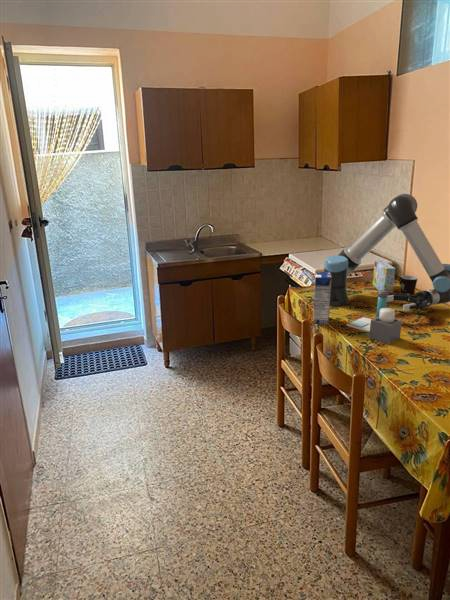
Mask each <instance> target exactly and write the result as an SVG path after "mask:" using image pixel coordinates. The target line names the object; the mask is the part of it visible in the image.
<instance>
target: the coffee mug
mask: <svg viewBox="0 0 450 600" xmlns="http://www.w3.org/2000/svg"><path fill="white" fill-rule="evenodd" d="M418 279H419V277H417V276H415V275H407V274H406V275H401V276H399V279H398V281H399V284H400V294H407V293H410V295H415V290H416V287H417V283H418Z"/></svg>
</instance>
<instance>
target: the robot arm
mask: <svg viewBox="0 0 450 600" xmlns="http://www.w3.org/2000/svg"><path fill="white" fill-rule="evenodd" d="M417 209H418V202H417V200H416V198H415V197H414V196H413V195H411V194H408V193H401V194H398V195H397V196H396V197H394V198H392V199H391V201H389V203H388V204H387V206H386V207H385V208H384V209H383V210H382V214H381V216H380V217H379V218H378V219H377V220H376V221H374V223H373V224H372V225H371V226H370V227H369V228H368V229H366V231H365V232H363V234H362V235H360V237H359V238H358V239H357V240H355V242H354V243H353V244H351V245H350V247H345V248H344V249H343V250H342V251H340V252H339V253H338V254H337V255H336V254H335V255H330V256H328V257H326V258H325V259H324V264H323V268H324V269H323V272H331V278H332V279H331V293H330V306H332V307H342V306H346V305H348V304H349V302H350V301H349V294H348V291H347V283H348V281H347V280H348V276H349V275H350V274H352V273H353V272H354V271H355V270H356V269H357V268H358V267H359V266H360V265H361V264H362V259H363V258H364V257H365V256H366V255H368V253H369V252H371V251H372V250H373V249H374V248H375V247H376V246H377V245H378V244H379V243H380V242H381V241H382V240H383V239H384V238H385V237H386V236H387V235H388V234H389V233H390V232H392V230H394V228H397V230H398V231H401V232H402V234H403V235H404V237H405V238H406V241H407V242H408V244H409V245H410V247H411V249H412V250H413V252H414V254H415V255H416V257H417V258H418V261H419V262H420V264H421V265H422V267H423V268H424V270H425V272H426V274H427V276H428V277H429V278H430V280H431V284H432V287H433V289H427V290H420V291H418V292H417V293H416V294H414V295H410V293H407V294H401V293H393V292H392V293H391V294H390V295H388V297H387V303H390V302H394V301H397V302H398V301H401V302H406V303H407V304H403V305H402V311H403V312H407V311H412V310H417V311H418V310H419V311H423V310H425V309H426V308H428V307H431V306H434V305H441V304H447V303H450V263H442V261H441V259H440V258H439V256H438V255H437V253H436V251H435V249H434V248H433V246H432V244H431V243H430V241H429V240H428V238H427V236H426V235H425V233H424V231H423V230H422V228H421V226H420V224H419V222H418V219H419V217H418V216H417V214H416V212H417Z"/></svg>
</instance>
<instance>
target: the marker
mask: <svg viewBox="0 0 450 600" xmlns="http://www.w3.org/2000/svg"><path fill="white" fill-rule="evenodd" d="M377 292H378V293H377V305H376V314H375V318H376V317H379V313H380V309H381V308H387V304H388V302H387V297H388V296H389V295H388V291H385V290H378V291H377Z"/></svg>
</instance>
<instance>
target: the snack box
mask: <svg viewBox="0 0 450 600" xmlns="http://www.w3.org/2000/svg"><path fill="white" fill-rule="evenodd" d="M396 270H397V269H396V267H394V266H392V265H391V264H390V263H388V262H387V261H385V260H384V259H381V260H380V259H375V260H374V267H373V276H372V282H371V283H372V286H373V287H375V288H376V289H377V290H378V291H379V290H385V291H388V296H390V294H391V293H393V290H394V283H395V275H396Z"/></svg>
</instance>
